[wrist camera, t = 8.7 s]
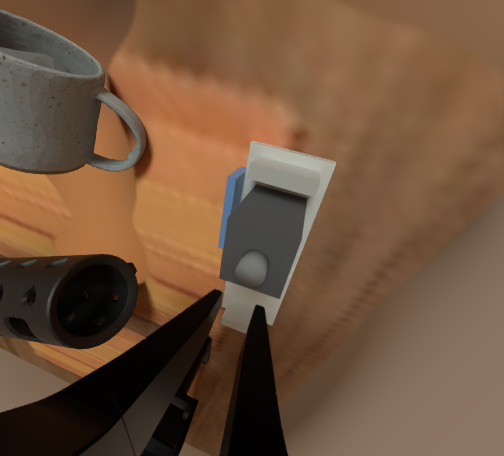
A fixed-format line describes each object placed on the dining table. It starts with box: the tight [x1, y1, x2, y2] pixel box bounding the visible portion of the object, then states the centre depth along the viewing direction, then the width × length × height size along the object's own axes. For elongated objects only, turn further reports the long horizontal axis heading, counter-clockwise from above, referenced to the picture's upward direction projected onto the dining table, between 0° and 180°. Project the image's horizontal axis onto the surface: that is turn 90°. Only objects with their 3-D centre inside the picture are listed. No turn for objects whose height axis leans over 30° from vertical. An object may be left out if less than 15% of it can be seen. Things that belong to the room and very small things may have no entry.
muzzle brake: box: [0, 254, 138, 349], centre depth 27 cm, size 10×28×10 cm, turn 103°
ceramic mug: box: [0, 10, 147, 175], centre depth 15 cm, size 11×8×8 cm
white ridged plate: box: [218, 141, 336, 334], centre depth 19 cm, size 18×7×3 cm, turn 168°
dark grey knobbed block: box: [219, 184, 308, 299], centre depth 14 cm, size 4×4×7 cm
